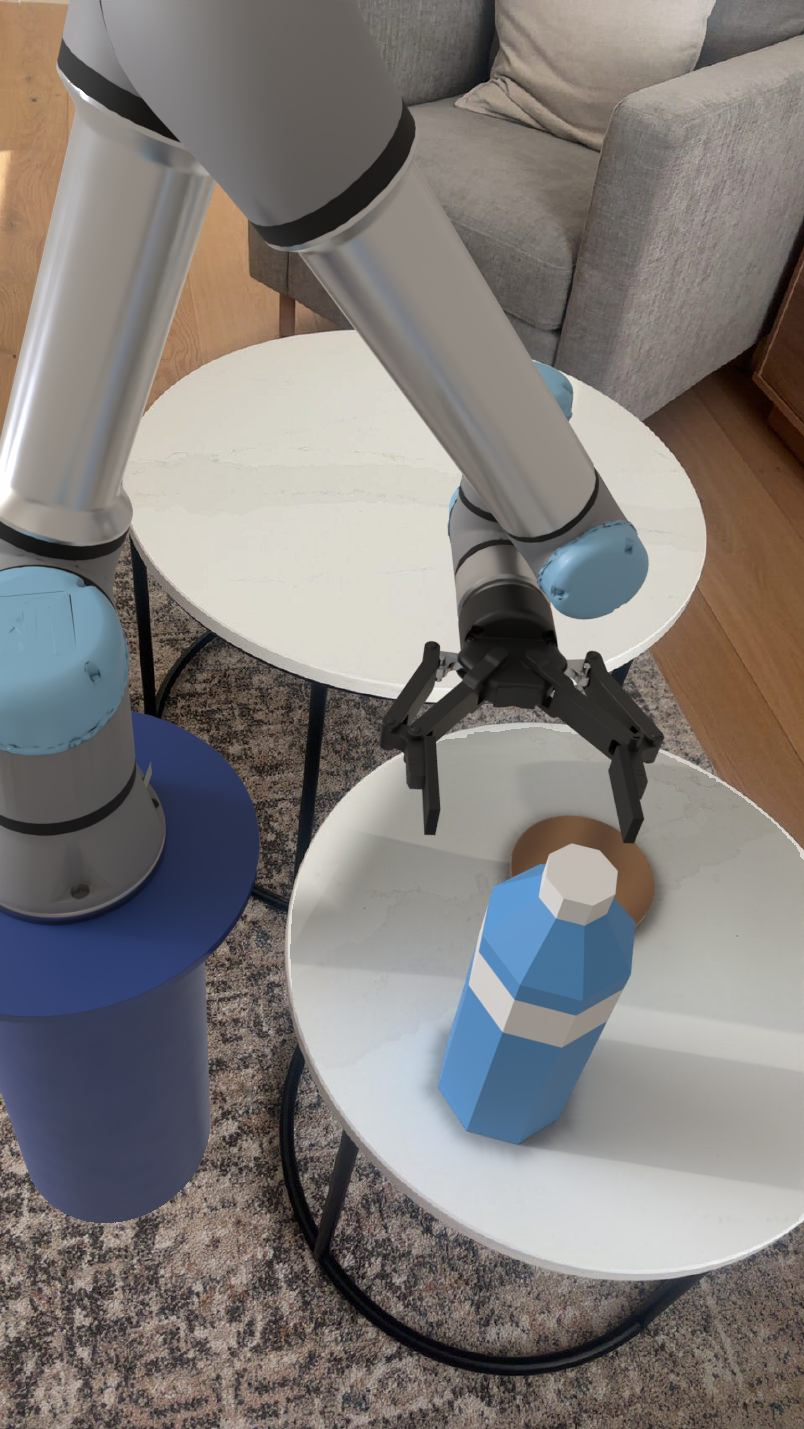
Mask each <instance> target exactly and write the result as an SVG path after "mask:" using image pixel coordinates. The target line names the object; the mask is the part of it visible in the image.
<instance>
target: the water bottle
mask: <svg viewBox="0 0 804 1429" xmlns="http://www.w3.org/2000/svg"><path fill="white" fill-rule="evenodd" d="M617 873H618V871H617V870H616V868H615V867H614V866H613V865H612V864H611V863H610V862H609V860H608V859H607V858H606V857H605V856H604V855H603V854H602V853H601V851H600V850H596V849H592V848H588V847H584V846H580V845H576V844H569V845H567V846H565V847H563V848H561V849H559V850H557V851H555V852H553V853H551V854H549V857H548V860H547V863H546V864H539V865H537V866H535V867H533V868H531V869H529V870H527V871H525V872H523V873H521V874H519V875H516V876H514V877H512V878H510V877H509V878H508V879H506V880H504V881H501V882H499V883H498V884H495V885H494V886H493V887H492V889H491V893H490V896H489V900H488V902H487V905H486V906H487V907H486V910H485V914H484V917H483V920H482V923H481V927H480V929H479V933H478V937H477V940H476V943H475V947H474V949H473V954H472V957H471V960H470V964H469V968H468V971H467V973H466V978H465V981H464V984H463V988H462V991H461V994H460V998H459V1002H458V1005H457V1008H456V1012H455V1015H454V1018H453V1022H452V1025H451V1028H450V1031H449V1035H448V1038H447V1041H446V1046H445V1051H444V1056H443V1061H442V1064H441V1071H440V1075H439V1079H438V1085H437V1088H438V1090H439V1092H440V1093H441V1095H442V1096H443V1098H444V1099H445V1100H446V1102H447V1104H448V1106H449V1107H450V1108H451V1110H452V1111H453V1112H454V1115H455V1116H456V1117H457V1119H458V1120H459V1122H460V1123H461V1125H462V1126H463V1128H464V1129H465V1131H466V1132H469V1133H473V1134H477V1135H481V1136H483V1137H484V1136H485V1137H488V1138H492V1139H495V1140H500V1141H503V1142H507V1143H510V1144H513V1145H519V1144H521V1143H523V1142H524V1141H525V1140H528V1139H529V1138H530V1137H532V1136H533V1135H536V1134H537V1133H538V1132H540V1131H542V1130H543V1129H545V1128H547V1127H548V1126H550V1125H552V1124H553V1123H555V1122H556V1121H558V1120H559V1118H560V1116H562V1115H561V1114H562V1113H563V1110H564V1109H565V1107H566V1105H567V1103H568V1101H569V1099H570V1097H571V1095H572V1094H573V1091H574V1090H575V1086H576V1085H577V1083H578V1080H579V1079H580V1077H581V1075H582V1073H583V1071H584V1069H585V1067H586V1065H587V1063H588V1061H589V1058H591V1055H592V1053H593V1051H594V1049H595V1047H596V1045H597V1043H598V1041H599V1039H600V1036H602V1033H603V1031H604V1029H605V1027H606V1025H607V1023H608V1021H609V1019H610V1017H611V1015H612V1013H613V1011H614V1009H615V1007H616V1005H617V1003H618V1001H619V999H620V997H621V995H622V993H623V991H624V989H625V986H626V985H627V983H628V981H629V979H630V977H631V975H632V969H633V968H632V966H633V955H634V945H635V944H634V943H635V934H636V933H635V931H636V928H635V921H634V920H633V919H632V918H631V917H630V915H629V914H628V913H627V912H626V911H625V909H624V908H623V907H622V906H621V905H620V903H619V902H618V901H617V900H616V899H615V898H614V896H615V893H616V883H617Z"/></svg>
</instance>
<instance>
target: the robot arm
mask: <svg viewBox="0 0 804 1429" xmlns="http://www.w3.org/2000/svg"><path fill="white" fill-rule="evenodd" d="M55 69H56V72H57V74H58V77H59V78H60V80H61V82H62V84H63V86H64V88H65V90H66V92H67V93H68V95H69V97H70V99H71V100H72V102H73V105H74V108H75V109H74V110H75V112H74V116H73V121H72V125H71V130H70V135H69V137H68V143H67V147H66V151H65V155H64V160H63V164H62V167H61V168H62V169H61V172H60V178H59V181H58V186H57V190H56V194H55V200H54V203H53V209H52V212H51V216H50V221H49V225H48V229H47V234H46V239H45V242H44V247H43V252H42V255H41V259H40V260H41V261H40V265H39V269H38V273H37V277H36V282H35V286H34V290H33V293H32V299H31V304H30V308H29V312H28V316H27V321H26V325H25V331H24V333H23V334H24V335H23V338H22V343H21V347H20V351H19V356H18V360H17V365H16V369H15V373H14V377H13V382H12V386H11V391H10V394H9V400H8V404H7V408H6V412H5V417H4V422H3V426H2V430H1V434H0V912H2V913H4V914H6V915H8V916H10V917H13V918H15V919H18V920H22V921H25V922H30V923H35V924H44V925H63V924H72V923H78V922H83V921H87V920H91V919H94V918H97V917H100V916H102V915H105V914H107V913H109V912H111V911H114V910H116V909H117V908H119V907H121V906H123V905H124V904H126V903H127V902H128V901H130V900H131V899H133V898H134V897H135V896H136V895H137V894H139V893H140V892H141V891H142V890H143V889H144V888H145V887H146V885H147V884H148V883H149V882H150V881H151V879H152V878H153V876H154V875H155V873H156V872H157V870H158V868H159V866H160V864H161V861H162V859H163V856H164V852H165V847H166V824H165V816H164V812H163V809H162V806H161V803H160V801H159V798H158V796H157V794H156V792H155V791H154V789H153V788H152V786H151V785H150V784H149V780H150V778H151V775H152V769H151V762H150V765H149V768H148V770H147V773H146V776H145V775H144V774H143V772H142V771H141V769H140V768H139V766H138V765H137V763H136V758H135V746H134V736H133V725H132V715H131V711H132V707H131V695H130V686H129V672H130V652H129V650H130V649H129V646H128V640H127V637H126V634H125V631H124V629H123V627H122V624H121V621H120V618H119V616H118V613H117V612H118V611H117V606H116V600H115V593H114V580H115V574H116V571H117V567H118V564H119V560H120V558H121V554H122V551H123V548H124V545H125V542H126V539H127V537H128V532H129V530H130V526H131V523H132V520H133V516H134V509H133V504H132V502H131V499H130V497H129V495H128V493H127V492H126V490H125V488H124V487H123V486H122V483H123V482H122V481H123V479H124V475H125V472H126V470H127V466H128V463H129V459H130V456H131V454H132V450H133V447H134V443H135V441H136V437H137V435H138V431H139V428H140V424H141V422H142V418H143V416H144V412H145V409H146V406H147V403H148V400H149V396H150V393H151V391H152V387H153V383H154V381H155V378H156V374H157V372H158V368H159V364H160V362H161V358H162V355H163V352H164V349H165V346H166V344H167V339H168V336H169V333H170V330H171V328H172V324H173V320H174V317H175V314H176V312H177V308H178V305H179V302H180V299H181V296H182V292H183V289H184V287H185V283H186V280H187V277H188V273H189V270H190V267H191V264H192V261H193V258H194V254H195V251H196V248H197V245H198V242H199V239H200V235H201V232H202V229H203V225H204V222H205V220H206V216H207V214H208V210H209V207H210V204H211V200H212V197H213V194H214V191H215V189H216V184H218V185H219V187H220V188H221V189H222V190H223V191H224V193H225V194H226V195H227V196H228V198H229V199H230V200H231V201H232V202H233V204H234V205H235V206H236V207H237V208H238V210H239V211H240V212H241V213H242V214H243V215H244V217H245V218H246V219H247V221H248V222H249V223H250V224H251V226H252V227H253V228H254V230H255V231H256V232H257V234H258V235H259V236H260V238H261V239H262V240H263V241H264V243H266V245H267V246H268V247H270V248H272V249H273V250H276V251H280V252H291V253H298V255H299V257H300V258H301V259H302V260H303V261H304V263H305V265H306V266H307V267H308V268H309V270H310V271H311V272H312V274H313V275H314V277H315V278H316V279H317V281H318V282H319V283H320V284H321V286H322V287H323V289H324V290H325V291H326V293H327V294H328V295H329V296H330V298H331V299H332V301H333V302H334V303H335V305H336V306H337V308H338V309H339V310H340V311H341V313H342V314H343V316H344V317H345V319H347V321H348V322H349V324H350V325H351V326H352V328H353V329H354V330H355V332H356V333H357V335H358V336H359V337H360V338H361V340H362V341H363V342H364V344H365V345H366V347H367V348H368V349H369V351H370V352H371V354H372V355H373V356H374V357H375V358H376V360H377V361H378V363H379V364H380V366H381V367H382V368H383V369H384V371H385V372H386V373H387V375H388V376H389V377H390V379H391V380H392V382H393V383H394V385H396V387H397V388H398V389H399V391H400V393H401V394H402V395H403V396H404V398H405V399H406V401H407V402H408V403H409V405H410V406H411V407H412V409H414V411H415V413H416V414H417V415H418V416H419V418H420V419H421V421H422V422H423V424H425V426H426V427H427V428H428V430H429V432H431V434H432V435H433V437H434V438H435V440H436V441H437V442H438V444H439V445H440V446H441V447H442V449H443V450H444V452H445V453H446V454H447V455H448V457H449V458H450V460H451V461H452V463H454V465H455V466H456V468H457V469H458V471H459V472H460V473H461V474H462V475H461V479H460V483H459V485H458V487H457V488H456V489H455V491H454V492H453V493H452V495H451V497H450V501H449V505H448V521H447V523H446V524H447V526H446V527H447V528H446V530H447V536H448V538H449V544H450V548H451V549H450V550H451V559H452V568H453V578H454V579H453V580H454V587H455V600H456V614H457V615H456V616H457V619H458V620H457V626H458V636H459V637H458V638H459V647H460V649H459V652H453V651H444V650H441V645H440V643H438V642H437V641H435V640H429V641H426V642H425V643H424V645H423V653H422V659H421V662H420V664H419V665H418V667H417V668H416V670H415V671H414V673H413V674H412V675H411V677H410V678H409V680H408V681H407V683H406V684H405V686H404V687H403V689H402V690H401V692H400V693H399V694H398V696H397V697H396V699H395V700H394V702H393V703H392V705H391V706H390V707H389V709H388V710H387V712H386V713H385V714H384V716H383V717H382V720H381V724H380V734H379V741H378V745H379V748H380V749H381V750H383V751H386V752H387V751H389V752H390V751H393V750H394V749H395V750H398V751H400V752H401V753H403V757H402V758H403V759H402V760H403V763H404V764H405V781H406V782H405V783H406V785H407V787H408V789H409V790H421V798H422V814H423V815H422V818H423V820H422V821H423V836H436V835H437V830H438V825H439V819H440V815H441V796H440V780H439V767H438V766H439V764H438V752H437V751H438V750H437V749H438V748H437V742H438V741H439V740H441V739H442V738H443V737H444V736H445V735H446V734H447V733H448V732H450V731H451V730H452V729H453V728H455V726H456V725H457V724H459V723H460V722H461V721H462V720H463V719H464V718H466V717H467V715H469V714H471V715H473V714H474V713H476V712H477V711H478V709H480V708H481V707H482V706H483V705H484V704H485V703H489V704H491V705H492V707H493V708H501V709H503V708H511V707H516V708H520V709H524V710H535V708H536V707H537V708H538V709H540V710H541V711H542V712H543V713H545V714H546V715H547V716H548V717H550V718H552V719H555V718H558V719H559V720H560V721H562V722H563V723H564V724H565V725H567V726H568V727H569V728H570V729H571V730H573V731H574V732H575V733H577V734H578V735H579V736H580V737H582V738H583V739H584V740H585V741H587V743H589V744H590V745H591V746H593V747H594V748H596V749H597V750H598V751H599V752H600V753H602V754H603V755H604V756H605V757H606V758H608V759H609V760H610V763H609V767H608V770H607V772H608V777H609V782H610V787H611V791H612V796H613V800H614V806H615V810H616V817H617V820H618V821H617V822H618V826H619V829H620V830H619V831H620V832H621V835H622V840H623V843H632V844H634V843H635V842H636V840H637V837H638V835H639V833H640V830H641V828H642V825H643V823H644V821H645V816H644V812H643V807H642V802H641V801H642V799H643V796H644V794H645V791H646V789H647V786H648V782H649V780H648V776H647V772H646V767H645V764H647V765H649V764H653V763H655V761H656V759H657V756H658V754H659V752H660V749H661V747H662V745H663V741H664V739H665V735H664V733H663V732H662V731H661V729H660V728H659V727H658V726H657V725H656V724H655V722H654V721H653V720H652V719H651V718H650V717H649V716H648V715H647V714H646V712H644V710H643V709H642V708H641V707H640V705H638V704H637V703H636V701H635V700H634V699H633V698H632V697H631V696H630V695H629V694H628V693H627V691H626V690H625V689H624V687H622V686H621V684H619V682H618V681H617V680H616V679H615V678H614V677H613V675H611V673H610V672H609V671H608V669H607V666H606V663H605V661H604V658H603V656H602V654H601V653H600V652H598V651H597V650H589V651H587V652H586V654H585V657H584V658H581V659H578V658H577V659H567V658H566V656H564V655H563V653H562V652H561V651H560V649H559V643H558V637H557V636H558V635H557V631H556V626H555V620H554V615H553V610H552V606H553V608H555V610H556V611H557V612H559V613H560V614H562V616H563V615H564V616H566V617H568V618H570V619H575V620H583V621H584V620H585V621H586V620H593V619H598V618H603V617H605V616H608V615H610V614H612V613H613V612H614V611H615V610H617V609H620V607H622V606H624V605H626V604H628V603H629V602H630V601H631V600H632V599H633V598H634V597H635V596H636V595H637V594H638V592H639V591H640V590H641V588H642V586H643V585H644V583H645V581H646V579H647V576H648V573H649V566H650V563H649V562H650V560H649V555H648V551H647V549H646V547H645V545H644V543H643V542H642V540H641V539H640V537H639V534H638V530H637V529H636V527H635V526H634V524H633V523H632V522H631V521H629V520H628V518H627V517H626V515H625V514H624V512H623V511H622V509H621V508H620V506H619V505H618V503H617V501H616V500H615V497H614V496H613V494H612V493H611V491H610V489H609V487H608V486H607V485H606V483H605V481H604V479H603V478H602V476H601V474H600V473H599V471H598V470H597V468H596V467H595V466H594V465H595V464H594V462H593V460H592V459H591V457H590V455H589V454H588V452H587V450H586V448H585V446H584V445H583V443H582V441H581V440H580V437H578V435H577V432H575V430H574V428H573V426H572V425H571V423H570V420H571V419H572V417H573V412H572V410H573V409H572V408H573V404H574V403H573V402H574V388H573V384H572V383H571V382H570V380H569V378H568V377H567V376H566V375H565V374H564V373H562V372H561V371H560V370H558V369H556V368H554V367H552V366H551V365H548V364H546V363H542V362H539V361H535V360H534V361H533V359H532V357H531V356H530V354H529V352H528V351H527V349H526V347H525V345H524V344H523V342H522V339H521V338H520V337H519V335H518V333H517V332H516V330H515V328H514V327H513V325H512V323H511V321H510V320H509V318H508V316H507V315H506V312H505V311H504V310H503V308H502V306H501V304H500V303H499V301H498V300H497V298H496V296H495V295H494V293H493V291H492V289H491V287H490V286H489V284H488V283H487V280H486V279H485V277H484V276H483V274H482V273H481V270H480V269H479V267H478V265H477V264H476V262H475V260H474V259H473V257H472V255H471V254H470V252H469V250H468V249H467V247H466V245H465V244H464V241H463V240H462V238H461V237H460V235H459V233H458V232H457V230H456V228H455V226H454V225H453V223H452V222H451V220H450V218H449V217H448V215H447V213H446V211H445V210H444V208H443V206H442V205H441V203H440V201H439V200H438V198H437V196H436V195H435V193H434V191H433V189H432V188H431V186H430V184H429V182H428V181H427V180H426V177H425V175H424V174H423V172H422V171H421V169H420V167H419V165H418V164H417V162H416V161H415V156H416V153H417V152H416V151H417V149H418V148H417V147H418V143H419V134H420V132H419V127H418V124H417V122H416V120H415V118H414V115H412V112H411V111H410V109H409V108H408V105H407V104H406V102H405V100H404V99H403V97H402V95H401V94H400V92H399V89H398V87H397V85H396V84H395V81H394V80H393V78H392V76H391V74H390V72H389V70H388V68H387V66H386V64H385V61H384V60H383V57H382V55H381V53H380V51H379V48H378V46H377V44H376V43H375V40H374V38H373V36H372V33H371V31H370V29H369V27H368V25H367V23H366V20H365V17H364V16H363V13H362V11H361V9H360V7H359V4H358V1H357V0H69V2H68V6H67V11H66V15H65V21H64V26H63V30H62V36H61V42H60V45H59V51H58V55H57V59H56V65H55ZM551 605H552V606H551ZM453 671H455V672H456V674H457V676H458V677H459V678H460V679H461V681H460V682H459V683H458V684H456V685H455V686H454V687H453V688H452V689H451V690H450V691H448V693H446V694H445V695H444V696H442V697H441V698H440V699H439V700H438V701H437V702H435V703H434V704H433V705H431V707H430V708H428V709H427V710H426V711H425V712H424V713H422V714H421V715H420V716H419V717H418V718H416V717H417V715H418V714H419V712H420V710H421V709H422V708H423V706H424V705H425V703H426V701H427V700H428V698H429V697H430V695H431V694H432V692H433V691H434V688H435V686H436V683H440V682H442V681H443V679H445V678H446V677H447V675H448V673H450V672H453ZM575 684H577V685H576V687H575ZM581 691H584V693H583V692H581ZM552 695H553V696H552ZM415 718H416V720H415Z"/></svg>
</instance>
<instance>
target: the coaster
mask: <svg viewBox="0 0 804 1429" xmlns="http://www.w3.org/2000/svg"><path fill="white" fill-rule="evenodd" d="M569 844H576V845H580V846H584V847H588V848H592V849H596V850H600V851H601V853H602V854H603V855H604V856H605V857H606V858H607V859H608V860H609V862H610V863H611V864H612V865H613V866H614V867H615V868H616V870H617V871H618V873H617V883H616V893H615V896H614V898H615V899H616V900H617V901H618V902H619V903H620V905H621V906H622V907H623V908H624V909H625V911H626V912H627V913H628V914H629V915H630V917H631V918H632V919H633V920H634V921H635V929H636V928H637V927H639V925H640V924H641V923H643V921H644V919H645V918H646V916H647V915H648V913H649V911H650V909H651V907H652V904H653V901H654V897H655V889H656V886H655V877H654V874H653V870H652V867H651V865H650V862H649V861H648V859H647V857H646V855H645V854H644V853H643V851H642V850H641V848H640V847H639V846H638V845H637V844H636V843H635V842H634V844H632V843H623V840H622V835H621V831H620V830H619V829H617V828H616V827H613V825H610V824H608V823H606V822H603V821H601V820H598V819H594V818H591V817H587V816H580V815H558V816H552V817H548V818H546V819H543V820H540V821H538V822H536V823H533V825H531V826H530V827H528V828H527V829H526V830H525V831H523V833H522V834H521V835H520V836H519V838H518V839H517V841H516V842H515V845H514V847H513V850H512V852H511V856H510V860H509V865H508V876H509V879H510V878H512V877H514V876H516V875H519V874H521V873H523V872H525V871H527V870H529V869H531V868H533V867H535V866H537V865H539V864H546V863H547V860H548V857H549V854H551V853H553V852H555V851H557V850H559V849H561V848H563V847H565V846H567V845H569Z"/></svg>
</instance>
